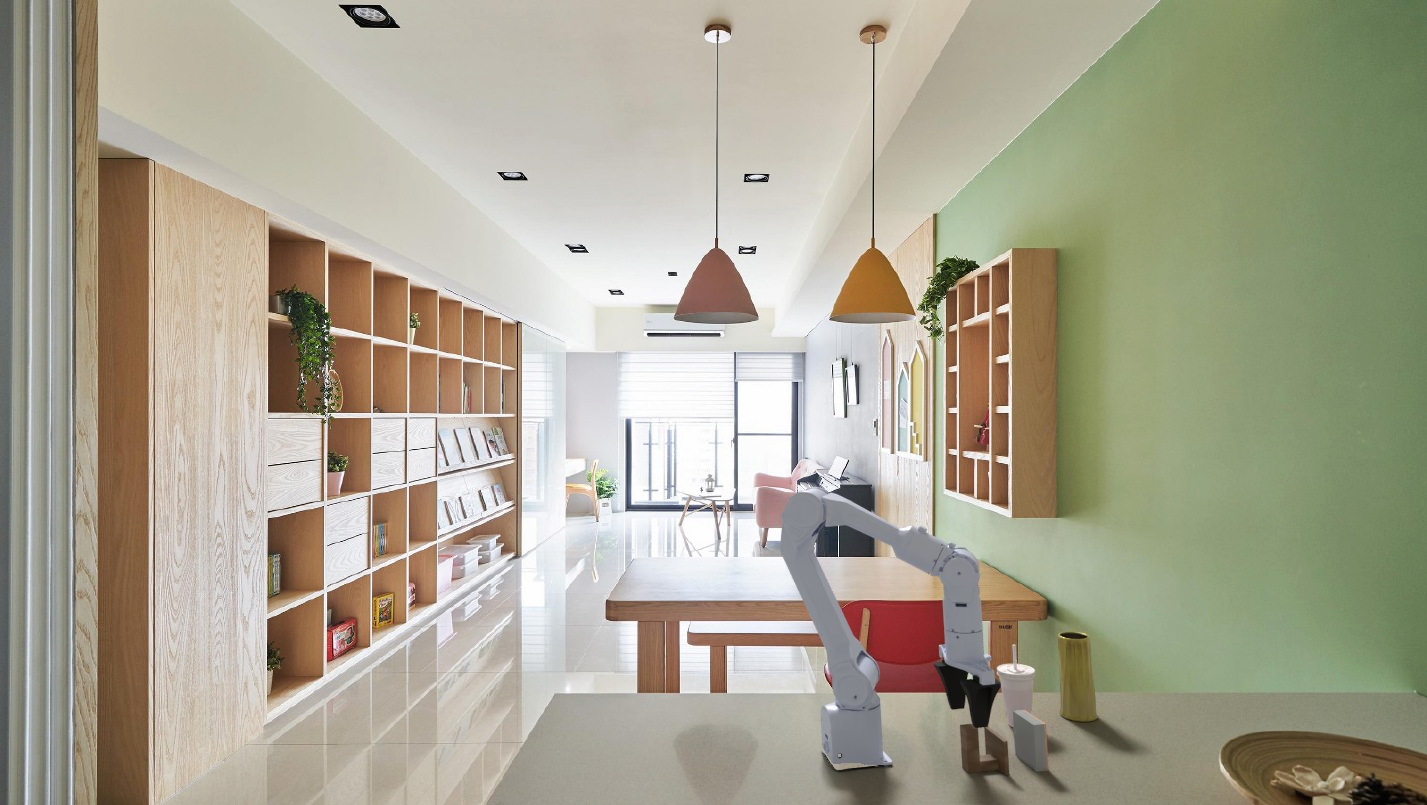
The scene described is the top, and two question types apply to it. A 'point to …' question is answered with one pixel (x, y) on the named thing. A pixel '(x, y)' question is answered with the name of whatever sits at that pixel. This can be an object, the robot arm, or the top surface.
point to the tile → (1030, 740)
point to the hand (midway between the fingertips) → (968, 717)
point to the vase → (1076, 677)
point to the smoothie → (1016, 687)
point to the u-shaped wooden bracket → (994, 750)
